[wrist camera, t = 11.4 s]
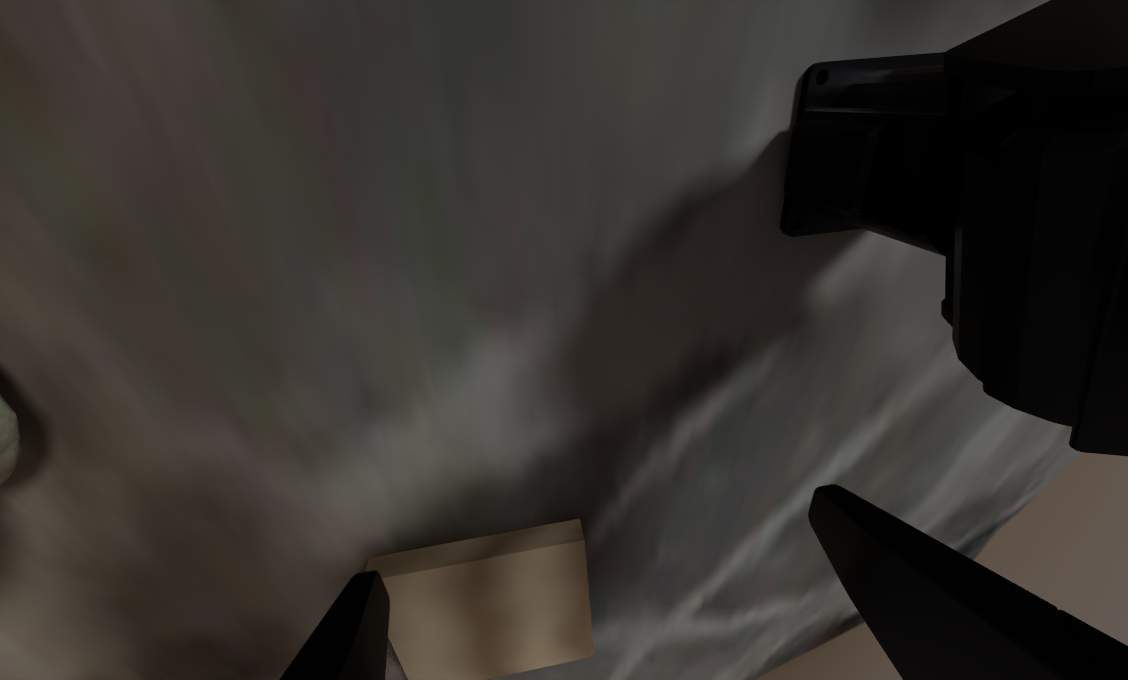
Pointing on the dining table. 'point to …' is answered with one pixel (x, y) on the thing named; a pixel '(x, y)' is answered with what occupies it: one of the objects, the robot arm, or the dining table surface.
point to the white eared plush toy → (8, 441)
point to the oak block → (490, 603)
